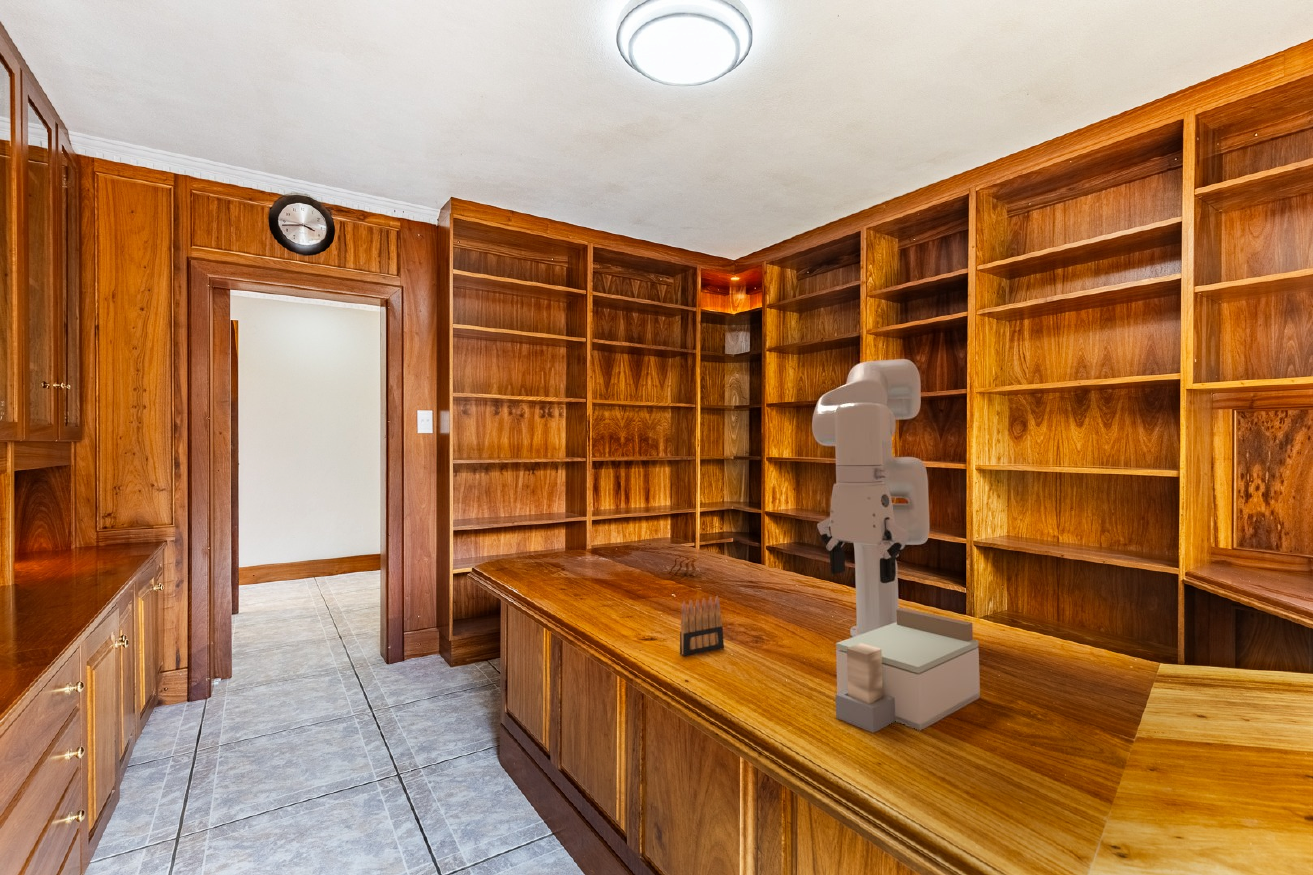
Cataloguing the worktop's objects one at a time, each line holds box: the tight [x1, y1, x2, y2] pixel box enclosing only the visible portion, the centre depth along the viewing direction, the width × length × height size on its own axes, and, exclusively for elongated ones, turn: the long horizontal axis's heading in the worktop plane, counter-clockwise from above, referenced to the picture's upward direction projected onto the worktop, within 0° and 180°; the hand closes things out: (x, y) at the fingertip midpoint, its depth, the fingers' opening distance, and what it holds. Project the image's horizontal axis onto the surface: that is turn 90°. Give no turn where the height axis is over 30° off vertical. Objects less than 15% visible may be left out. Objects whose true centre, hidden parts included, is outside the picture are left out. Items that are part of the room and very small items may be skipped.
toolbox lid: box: [835, 607, 979, 673], centre depth 114 cm, size 20×16×4 cm
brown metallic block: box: [847, 643, 883, 704], centre depth 106 cm, size 4×4×12 cm
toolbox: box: [834, 646, 981, 734], centre depth 112 cm, size 26×16×9 cm, turn 127°
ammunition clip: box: [679, 595, 725, 657], centre depth 142 cm, size 11×2×12 cm, turn 118°
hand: (861, 577), depth 106 cm, fingers open, 9 cm apart
